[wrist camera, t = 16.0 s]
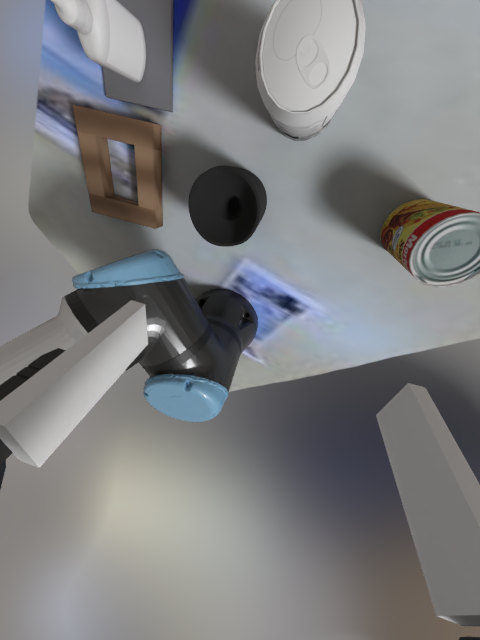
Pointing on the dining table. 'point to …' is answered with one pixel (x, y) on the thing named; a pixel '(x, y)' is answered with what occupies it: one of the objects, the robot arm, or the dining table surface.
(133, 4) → the rubber mat
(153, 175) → the bottle holder
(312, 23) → the supplement can
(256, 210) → the pen holder
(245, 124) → the dining table surface
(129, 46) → the eye dropper bottle
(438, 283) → the canned food
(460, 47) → the dining table surface
